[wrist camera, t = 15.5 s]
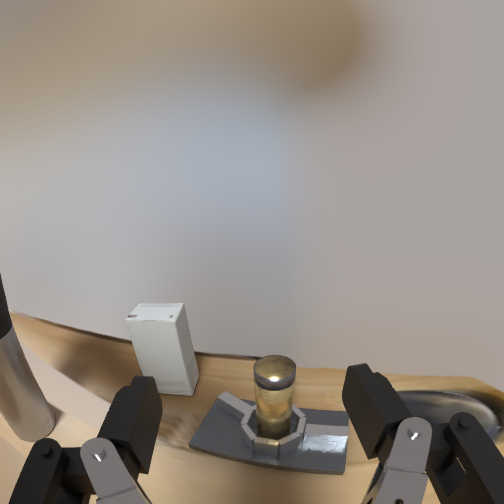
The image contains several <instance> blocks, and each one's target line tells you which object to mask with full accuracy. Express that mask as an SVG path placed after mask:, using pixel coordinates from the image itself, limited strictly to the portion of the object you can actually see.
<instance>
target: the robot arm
mask: <svg viewBox="0 0 504 504" xmlns="http://www.w3.org/2000/svg"><path fill="white" fill-rule="evenodd" d="M342 401H343V404H344V407H345V409H346V411H347V413H348V415H349V418H350V420H351V422H352V424H353V426H354V429H355V431H356V433H357V435H358V438H359V440H360V442H361V444H362V447H363V449H364V451H365V453H366V456H367V458H368V460H369V459H372V458H376V457H378V459H379V461H380V462H379V464H378V466H377V468H376V471H375V473H374V476H373V478H372V481H371V483H370V485H369V488H368V490H367V492H366V494H365V496H364V498H363V500H362V502H361V504H421V503H422V500H423V496H424V493H425V489H426V485H427V481H428V477H429V479H430V481H431V483H432V485H433V488H434V490H435V492H436V494H437V496H438V499H439V501H440V503H441V504H504V457H503V456H502V454H501V453H500V452H499V450H498V449H497V447H496V446H495V444H494V443H493V441H492V440H491V439H490V437H489V436H488V434H487V433H486V432H485V430H484V429H483V427H482V426H481V425H480V423H479V422H478V421H477V419H476V418H475V417H474V416H473V415H471V414H469V413H465V412H460V413H457V414H455V415H453V416H452V418H451V419H450V421H449V423H443V424H434V425H430V424H429V423H428V422H427V421H426V420H424V419H422V418H418V417H413V416H412V414H411V413H410V411H409V410H408V408H407V407H406V405H405V404H404V403H403V401H402V400H401V398H400V397H399V395H398V394H397V392H396V391H395V389H394V388H392V385H391V384H390V382H389V381H388V379H387V378H386V377H384V376H383V375H381V374H380V373H378V372H376V373H373V372H372V371H371V369H370V368H369V366H368V365H367V364H366V363H363V364H358V365H352V366H349V367H348V368H347V372H346V377H345V382H344V386H343V391H342ZM0 412H1V413H2V415H3V416H4V418H5V420H6V421H7V423H8V424H9V426H10V427H11V428H12V430H13V431H14V433H15V434H16V435H17V436H18V437H19V438H20V439H22V440H25V441H37V440H38V441H37V442H36V443H35V444H34V445H33V447H32V449H31V451H30V453H29V455H28V457H27V460H26V462H25V464H24V467H23V469H22V471H21V473H20V476H19V478H18V480H17V483H16V485H15V488H14V490H13V493H12V496H11V498H10V501H9V504H89V500H90V496H91V495H96V494H97V496H98V499H96V502H97V504H153V503H152V502H151V501H150V499H149V498H148V496H147V495H146V493H145V492H144V490H143V489H142V487H141V485H140V484H139V482H138V481H137V479H138V475H139V473H143V474H148V473H149V468H150V463H151V459H152V454H153V450H154V446H155V441H156V437H157V433H158V429H159V425H160V421H161V417H162V402H161V399H160V395H159V392H158V389H157V385H156V382H155V379H154V377H153V376H139V375H136V376H135V377H134V378H133V381H132V383H131V385H130V386H124V387H123V388H122V389H120V390H119V391H118V392H117V393H116V395H115V397H114V399H113V402H112V404H111V406H110V408H109V411H108V413H107V415H106V417H105V420H104V422H103V424H102V426H101V429H100V431H99V433H98V436H97V438H93V439H90V440H88V441H86V442H85V443H84V444H83V445H82V447H74V448H62V447H61V446H60V445H59V443H58V442H57V441H55V440H54V439H51V438H44V437H46V436H47V435H48V434H49V433H50V432H51V431H52V429H53V428H54V425H55V415H54V413H53V411H52V409H51V408H50V406H49V404H48V402H47V400H46V399H45V397H44V395H43V393H42V391H41V389H40V387H39V385H38V383H37V381H36V380H35V377H34V375H33V373H32V371H31V369H30V366H29V364H28V362H27V360H26V358H25V355H24V353H23V350H22V348H21V346H20V343H19V341H18V338H17V335H16V332H15V330H14V327H13V324H12V321H11V318H10V315H9V311H8V306H7V301H6V296H5V292H4V289H3V284H2V280H1V275H0ZM42 438H43V439H42ZM457 458H458V459H459V461H460V462H459V461H458V459H457ZM460 463H461V464H460ZM461 465H462V466H463V468H464V469H463V468H462V466H461ZM464 470H465V471H464ZM425 471H426V473H427V474H426V473H425ZM465 472H466V473H465Z"/></svg>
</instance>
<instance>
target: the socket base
mask: <svg viewBox="0 0 504 504" xmlns="http://www.w3.org/2000/svg"><path fill="white" fill-rule="evenodd" d="M348 423H349V415H348V413H347V412H346V411H328V410H315V409H304V408H297V407H296V406H295V405H294V404H293V406H292V418H291V429H290V435H289V436H287V437H285V438H283V439H280V440H272V439H266V438H260V437H258V436H257V418H256V402H253V401H248V400H242V399H239V398H237V397H235V396H234V395H232V394H230V393H229V392H227V391H225V392H223V393H222V394H220V395H219V396H217V399H216V401H215V403H214V404H213V406H212V408H211V409H210V411H209V412H208V414H207V416H206V417H205V419H204V420H203V422H202V423H201V425H200V427H199V428H198V430H197V431H196V433H195V434H194V436H193V438H192V439H191V441H190V442H189V447H190V448H192V449H195V450H199V451H202V452H205V453H209V454H212V455H216V456H219V457H223V458H227V459H231V460H235V461H240V462H244V463H249V464H254V465H259V466H264V467H270V468H276V469H282V470H290V471H298V472H307V473H318V474H334V475H343V473H344V471H345V461H346V451H347V438H348V431H349V426H348Z"/></svg>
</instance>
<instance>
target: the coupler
mask: <svg viewBox="0 0 504 504" xmlns="http://www.w3.org/2000/svg"><path fill="white" fill-rule="evenodd" d="M295 377H296V364H295V363H294V361H292V360H291V359H290V358H288V357H285V356H280V355H270V356H265V357H263V358H261V359H259V360H258V361H256V363H255V364H254V381H255V392H256V418H257V436H258V437H260V438H266V439H272V440H280V439H283V438H285V437H287V436H289V435H290V429H291V418H292V406H293V393H294V382H295Z"/></svg>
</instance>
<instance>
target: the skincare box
mask: <svg viewBox="0 0 504 504" xmlns="http://www.w3.org/2000/svg"><path fill="white" fill-rule="evenodd" d="M126 324H127V327H128V331H129V334H130V337H131V341H132V344H133V347H134V350H135V353H136V356H137V359H138V362H139V365H140V368H141V371H142V374H143V376H153V377H154V379H155V382H156V385H157V389H158V392H159V393H164V394H175V395H188V396H193V393H194V390H195V387H196V384H197V381H198V378H199V372H198V368H197V363H196V359H195V354H194V350H193V346H192V341H191V336H190V331H189V326H188V321H187V317H186V311H185V306H184V303H173V304H172V303H171V304H138V305H137V307H136V308H135V309H134V310H133V311H132V312H131V314H130V315H129V316H128V317H127V318H126Z"/></svg>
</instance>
